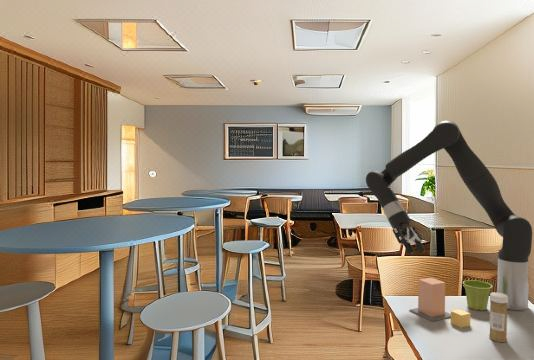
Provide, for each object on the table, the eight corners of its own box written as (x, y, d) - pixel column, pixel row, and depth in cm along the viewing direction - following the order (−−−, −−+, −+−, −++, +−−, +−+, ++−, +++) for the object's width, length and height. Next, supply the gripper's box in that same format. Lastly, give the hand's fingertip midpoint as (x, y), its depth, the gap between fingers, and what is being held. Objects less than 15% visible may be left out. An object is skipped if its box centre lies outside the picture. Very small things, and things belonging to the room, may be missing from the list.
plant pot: (482, 314, 131) (482, 289, 131) (456, 305, 139) (457, 282, 139) (497, 309, 136) (498, 285, 135) (471, 301, 144) (472, 278, 144)
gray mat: (430, 306, 138) (430, 305, 138) (454, 316, 129) (454, 315, 129) (409, 310, 134) (409, 309, 134) (432, 321, 125) (432, 320, 125)
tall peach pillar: (430, 308, 135) (431, 277, 135) (444, 314, 130) (445, 282, 129) (418, 310, 133) (418, 279, 133) (431, 316, 127) (432, 284, 127)
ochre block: (459, 321, 126) (459, 309, 126) (470, 325, 122) (470, 313, 122) (450, 323, 124) (450, 311, 124) (461, 327, 120) (461, 315, 120)
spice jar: (509, 340, 112) (511, 295, 111) (502, 344, 109) (503, 298, 109) (493, 334, 116) (494, 290, 115) (485, 338, 113) (486, 293, 113)
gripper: (394, 209, 142) (416, 248, 134) (413, 210, 151) (434, 247, 144) (379, 219, 146) (399, 258, 139) (398, 220, 156) (418, 256, 148)
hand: (417, 252), depth 141 cm, fingers open, 8 cm apart
